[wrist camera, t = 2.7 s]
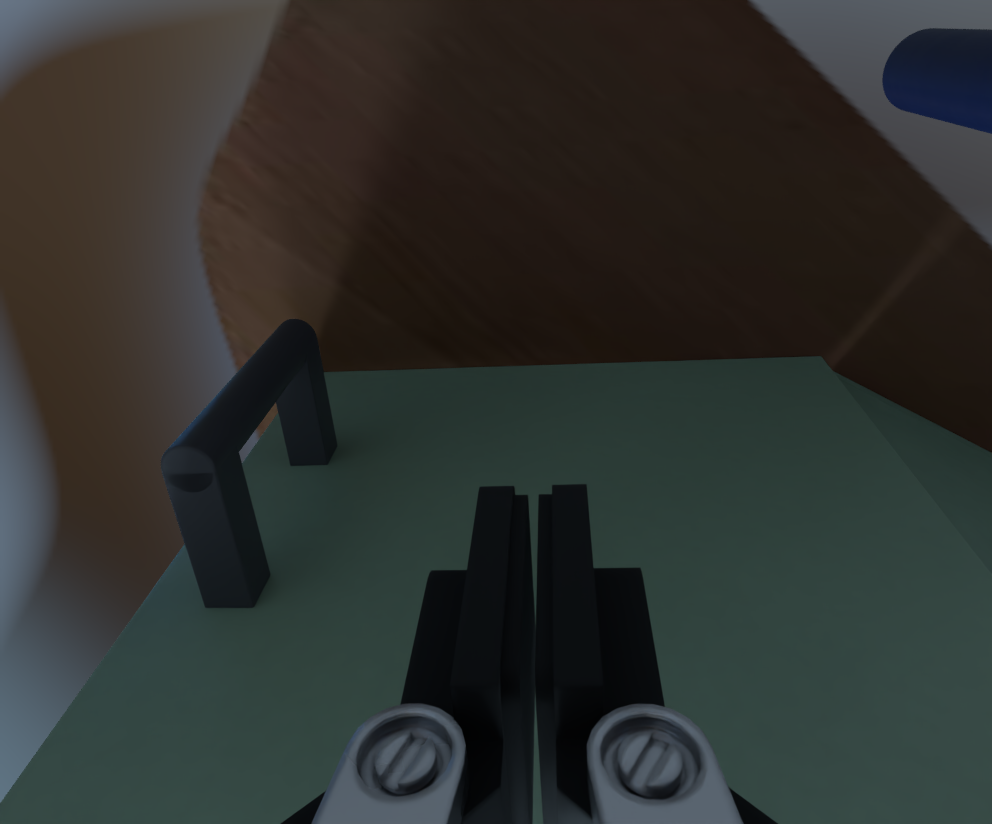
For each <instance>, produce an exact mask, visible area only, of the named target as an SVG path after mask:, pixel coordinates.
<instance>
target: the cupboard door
mask: <svg viewBox="0 0 992 824" xmlns="http://www.w3.org/2000/svg"><path fill="white" fill-rule="evenodd" d="M275 402H276V404H277V409H278V414H277V415H276V416H275V418H274V419H273V421H272V422H271V423H270V425H269V426H268V428H267V429H266V431H265V432H264V433H263V435H262V436H261V438H260V439H259V440H258V442H257V443H256V445H255V446H254V448H253V449H252V450H251V452H250V453H249V454H248V456H247V457H246V459H245V460H244V462H243V463H241V459H240V455H239V451H240V450H241V448H242V447H243V446H244V444H245V443H246V442H247V440H248V439H249V438H250V436H251V435H252V433H253V432H254V431H255V429H256V428H257V427H258V425H259V424H260V423H261V421H262V420H263V419H264V417H265V416H266V415H267V413H268V412H269V410H270V409H271V408H272V406H273V405H274V404H275ZM161 469H162V474H163V477H164V480H165V484H166V487H167V490H168V493H169V496H170V499H171V502H172V506H173V509H174V512H175V515H176V518H177V521H178V524H179V528H180V531H181V534H182V537H183V540H184V543H185V544H184V546H183V547H182V549H181V550H180V551H179V553H178V554H177V556H176V557H175V558H174V560H173V561H172V563H171V564H170V565H169V567H168V568H167V570H166V571H165V573H164V574H163V575H162V577H161V578H160V580H159V581H158V582H157V584H156V585H155V587H154V588H153V590H152V591H151V592H150V594H149V595H148V596H147V598H146V599H145V601H144V602H143V603H142V605H141V606H140V608H139V609H138V610H137V612H136V613H135V615H134V616H133V618H132V619H131V620H130V622H129V623H128V625H127V626H126V628H125V629H124V630H123V632H122V633H121V634H120V636H119V637H118V639H117V640H116V641H115V643H114V644H113V646H112V647H111V648H110V650H109V651H108V653H107V654H106V656H105V657H104V659H103V660H102V661H101V663H100V664H99V665H98V667H97V668H96V669H95V671H94V672H93V674H92V675H91V677H90V678H89V679H88V681H87V682H86V684H85V685H84V686H83V688H82V689H81V691H80V692H79V693H78V695H77V696H76V698H75V699H74V700H73V702H72V703H71V705H70V706H69V707H68V709H67V711H66V712H65V713H64V715H63V716H62V717H61V719H60V720H59V721H58V723H57V724H56V726H55V727H54V729H53V730H52V731H51V733H50V734H49V736H48V737H47V738H46V740H45V741H44V743H43V744H42V745H41V747H40V748H39V750H38V751H37V752H36V754H35V755H34V757H33V758H32V759H31V761H30V762H29V764H28V765H27V766H26V768H25V769H24V771H23V772H22V773H21V775H20V776H19V778H18V779H17V781H16V782H15V783H14V785H13V786H12V788H11V789H10V790H9V792H8V793H7V795H6V796H5V797H4V799H3V800H2V802H1V803H0V824H281V823H282V822H283V821H285V820H286V819H288V818H289V817H290V816H292V815H293V814H294V813H296V812H297V811H299V810H300V809H301V808H303V807H304V806H305V805H307V804H308V803H310V802H311V801H312V800H314V799H315V798H317V797H318V796H319V795H321V794H322V793H323V792H325V791H326V790H327V788H328V786H329V783H330V781H331V779H332V777H333V774H334V772H335V770H336V768H337V766H338V763H339V761H340V759H341V757H342V754H343V752H344V750H345V748H346V746H347V744H348V742H349V740H350V739H351V737H352V736H353V734H354V733H355V731H356V730H357V729H358V728H359V727H360V726H361V725H362V724H363V723H364V722H365V721H366V720H368V719H369V718H370V717H371V716H373V715H375V714H377V713H379V712H381V711H382V710H384V709H386V708H389V707H393V706H397V705H400V703H401V699H402V694H403V690H404V685H405V680H406V676H407V671H408V666H409V662H410V657H411V653H412V648H413V643H414V639H415V634H416V629H417V625H418V620H419V616H420V611H421V606H422V602H423V597H424V592H425V588H426V583H427V579H428V576H429V573H430V572H431V570H467V566H468V559H469V552H470V546H471V539H472V532H473V525H474V518H475V512H476V505H477V498H478V491H479V487H480V486H514V488H515V495H528V502H529V519H530V536H531V554H532V571H533V589H534V606H535V624H536V596H537V546H538V497H539V494H552V485H566V484H586V485H587V494H588V506H589V519H590V531H591V543H592V555H593V567H594V568H639V567H640V568H641V571H642V575H643V580H644V586H645V592H646V598H647V604H648V610H649V616H650V622H651V627H652V633H653V639H654V645H655V651H656V657H657V663H658V669H659V674H660V680H661V686H662V692H663V698H664V704H665V707H667V708H671V709H673V710H675V711H677V712H679V713H680V714H682V715H684V716H686V717H688V718H689V719H690V720H691V721H693V722H694V723H695V724H696V725H697V726H698V727H699V728H700V729H701V730H702V731H703V732H704V734H705V736H706V737H707V739H708V741H709V742H710V744H711V746H712V748H713V750H714V753H715V755H716V758H717V760H718V763H719V765H720V767H721V770H722V772H723V775H724V777H725V780H726V782H727V785H728V787H729V788H731V789H732V790H733V791H735V792H736V793H737V794H739V795H740V796H741V797H743V798H744V799H746V800H747V801H748V802H750V803H751V804H752V805H754V806H755V807H756V808H758V809H759V810H760V811H762V812H763V813H764V814H766V815H767V816H768V817H770V818H771V819H772V820H774V821H775V822H777V823H778V824H992V574H991V573H990V572H989V570H988V569H987V568H986V566H985V565H984V564H983V563H982V561H981V560H980V559H979V557H978V556H977V555H976V554H975V552H974V551H973V550H972V549H971V547H970V546H969V545H968V543H967V542H966V541H965V540H964V538H963V537H962V536H961V534H960V533H959V532H958V531H957V529H956V528H955V527H954V526H953V524H952V523H951V522H950V520H949V519H948V518H947V517H946V515H945V514H944V513H943V511H942V510H941V509H940V508H939V506H938V505H937V504H936V502H935V501H934V500H933V499H932V497H931V496H930V495H929V494H928V492H927V491H926V490H925V488H924V487H923V486H922V485H921V483H920V482H919V481H918V479H917V478H916V477H915V476H914V474H913V473H912V472H911V471H910V469H909V468H908V467H907V465H906V464H905V463H904V462H903V460H902V459H901V458H900V456H899V455H898V454H897V453H896V451H895V450H894V449H893V448H892V446H891V445H890V444H889V442H888V441H887V440H886V439H885V437H884V436H883V435H882V433H881V432H880V431H879V430H878V428H877V427H876V426H875V425H874V423H873V422H872V421H871V419H870V418H869V417H868V416H867V414H866V413H865V412H864V410H863V409H862V408H861V407H860V405H859V404H858V403H857V402H856V400H855V399H854V398H853V396H852V395H851V394H850V393H849V391H848V390H847V389H846V387H845V386H844V385H843V384H842V382H841V381H840V380H839V379H838V377H837V376H836V375H835V373H834V372H833V371H832V370H831V368H830V367H829V366H828V364H827V363H826V362H825V361H824V359H823V358H822V357H821V356H811V357H780V358H749V359H718V360H687V361H656V362H625V363H594V364H563V365H532V366H501V367H470V368H440V369H409V370H378V371H347V372H324V371H323V366H322V361H321V355H320V350H319V345H318V340H317V336H316V333H315V331H314V329H313V328H312V327H311V326H310V325H309V324H308V323H306V322H305V321H302V320H299V319H289V320H286V321H284V322H283V323H282V324H281V325H280V326H279V327H278V328H277V329H276V330H275V332H274V333H273V334H272V335H271V336H270V337H269V338H268V339H267V340H266V341H265V343H264V344H263V345H262V346H261V347H260V348H259V349H258V350H257V351H256V352H255V354H254V355H253V356H252V357H251V358H250V359H249V360H248V361H247V362H246V363H245V365H244V366H243V367H242V368H241V369H240V370H239V371H238V372H237V373H236V374H235V376H234V377H233V378H232V379H231V380H230V381H229V382H228V383H227V385H225V387H224V388H223V389H222V390H221V391H220V392H219V393H218V394H217V395H216V397H215V398H214V399H213V400H212V401H211V402H210V403H209V404H208V406H207V407H206V408H205V409H204V410H203V411H202V412H201V413H200V414H199V415H198V416H197V417H196V419H195V420H194V421H193V422H192V423H191V424H190V425H189V426H188V428H186V430H185V431H184V432H183V433H182V434H181V435H180V436H179V437H178V438H177V439H176V441H175V442H174V443H173V444H172V445H171V446H170V447H169V448H168V449H167V450H166V452H165V453H164V454H163V456H162V459H161ZM533 824H543V813H542V796H541V780H540V764H539V747H538V731H537V715H536V696H535V723H534V775H533Z"/></svg>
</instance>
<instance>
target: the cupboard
mask: <svg viewBox="0 0 992 824" xmlns="http://www.w3.org/2000/svg"><path fill="white" fill-rule="evenodd" d="M833 372H834V371H833ZM834 373H835V375H836V376H837V377H838V379H839V380H840V381H841V382H842V384H843V385H844V386H845V387H846V389H847V390H848V391H849V393H850V394H851V395H852V396H853V398H854V399H855V400H856V402H857V403H858V404H859V405H860V407H861V408H862V409H863V410H864V412H865V413H866V414H867V416H868V417H869V418H870V419H871V421H872V422H873V423H874V425H875V426H876V427H877V428H878V430H879V431H880V432H881V433H882V435H883V436H884V437H885V439H886V440H887V441H888V442H889V444H890V445H891V446H892V448H893V449H894V450H895V451H896V453H897V454H898V455H899V456H900V458H901V459H902V460H903V462H904V463H905V464H906V465H907V467H908V468H909V469H910V471H911V472H912V473H913V474H914V476H915V477H916V478H917V479H918V481H919V482H920V483H921V485H922V486H923V487H924V488H925V490H926V491H927V492H928V494H929V495H930V496H931V497H932V499H933V500H934V501H935V502H936V504H937V505H938V506H939V508H940V509H941V510H942V511H943V513H944V514H945V515H946V517H947V518H948V519H949V520H950V522H951V523H952V524H953V526H954V527H955V528H956V529H957V531H958V532H959V533H960V534H961V536H962V537H963V538H964V540H965V541H966V542H967V543H968V545H969V546H970V547H971V549H972V550H973V551H974V552H975V554H976V555H977V556H978V557H979V559H980V560H981V561H982V563H983V564H984V565H985V566H986V568H987V569H988V570H989V572H990V573H991V574H992V453H991V452H989V451H987V450H985V449H983V448H981V447H979V446H977V445H975V444H973V443H972V442H970V441H968V440H966V439H964V438H962V437H960V436H958V435H956V434H954V433H952V432H950V431H948V430H946V429H944V428H942V427H941V426H939V425H937V424H935V423H933V422H931V421H929V420H927V419H925V418H923V417H921V416H919V415H917V414H915V413H913V412H911V411H910V410H908V409H906V408H904V407H902V406H900V405H898V404H896V403H894V402H892V401H890V400H888V399H886V398H884V397H882V396H880V395H879V394H877V393H875V392H873V391H871V390H869V389H867V388H865V387H863V386H861V385H859V384H857V383H855V382H853V381H851V380H849V379H848V378H846V377H844V376H842V375H840V374H838V373H836V372H834Z"/></svg>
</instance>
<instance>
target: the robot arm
mask: <svg viewBox="0 0 992 824" xmlns="http://www.w3.org/2000/svg"><path fill="white" fill-rule="evenodd" d="M535 696H536V715H537V731H538V747H539V764H540V780H541V796H542V813H543V824H778V823H777V822H775V821H774V820H772V819H771V818H770V817H768V816H767V815H766V814H764V813H763V812H762V811H760V810H759V809H758V808H756V807H755V806H754V805H752V804H751V803H750V802H748V801H747V800H746V799H744V798H743V797H741V796H740V795H739V794H737V793H736V792H735V791H733V790H732V789H731V788H729V787H728V785H727V782H726V780H725V777H724V775H723V772H722V770H721V767H720V765H719V763H718V760H717V758H716V755H715V753H714V750H713V748H712V746H711V744H710V742H709V741H708V739H707V737H706V736H705V734H704V732H703V731H702V730H701V729H700V728H699V727H698V726H697V725H696V724H695V723H694V722H693V721H691V720H690V719H689V718H688V717H686V716H684V715H682V714H680V713H679V712H677V711H675V710H673V709H671V708H667V707H665V704H664V698H663V692H662V686H661V680H660V674H659V669H658V663H657V657H656V651H655V645H654V639H653V633H652V627H651V622H650V616H649V610H648V604H647V598H646V592H645V586H644V580H643V575H642V571H641V568H640V567H639V568H594V567H593V555H592V543H591V531H590V519H589V506H588V494H587V485H586V484H566V485H552V494H539V497H538V546H537V596H536V624H535V606H534V589H533V571H532V554H531V536H530V519H529V502H528V495H515V488H514V486H480V487H479V491H478V498H477V505H476V512H475V518H474V525H473V532H472V539H471V546H470V552H469V559H468V566H467V570H431V572H430V573H429V576H428V579H427V583H426V588H425V592H424V597H423V602H422V606H421V611H420V616H419V620H418V625H417V629H416V634H415V639H414V643H413V648H412V653H411V657H410V662H409V666H408V671H407V676H406V680H405V685H404V690H403V694H402V699H401V703H400V705H397V706H393V707H389V708H386V709H384V710H382V711H381V712H379V713H377V714H375V715H373V716H371V717H370V718H369V719H368V720H366V721H365V722H364V723H363V724H362V725H361V726H360V727H359V728H358V729H357V730H356V731H355V733H354V734H353V736H352V737H351V739H350V740H349V742H348V744H347V746H346V748H345V750H344V752H343V754H342V757H341V759H340V761H339V763H338V766H337V768H336V770H335V772H334V774H333V777H332V779H331V781H330V783H329V786H328V788H327V790H326V791H325V792H323V793H322V794H321V795H319V796H318V797H317V798H315V799H314V800H312V801H311V802H310V803H308V804H307V805H305V806H304V807H303V808H301V809H300V810H299V811H297V812H296V813H294V814H293V815H292V816H290V817H289V818H288V819H286V820H285V821H283V822H282V823H281V824H533V775H534V723H535Z"/></svg>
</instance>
